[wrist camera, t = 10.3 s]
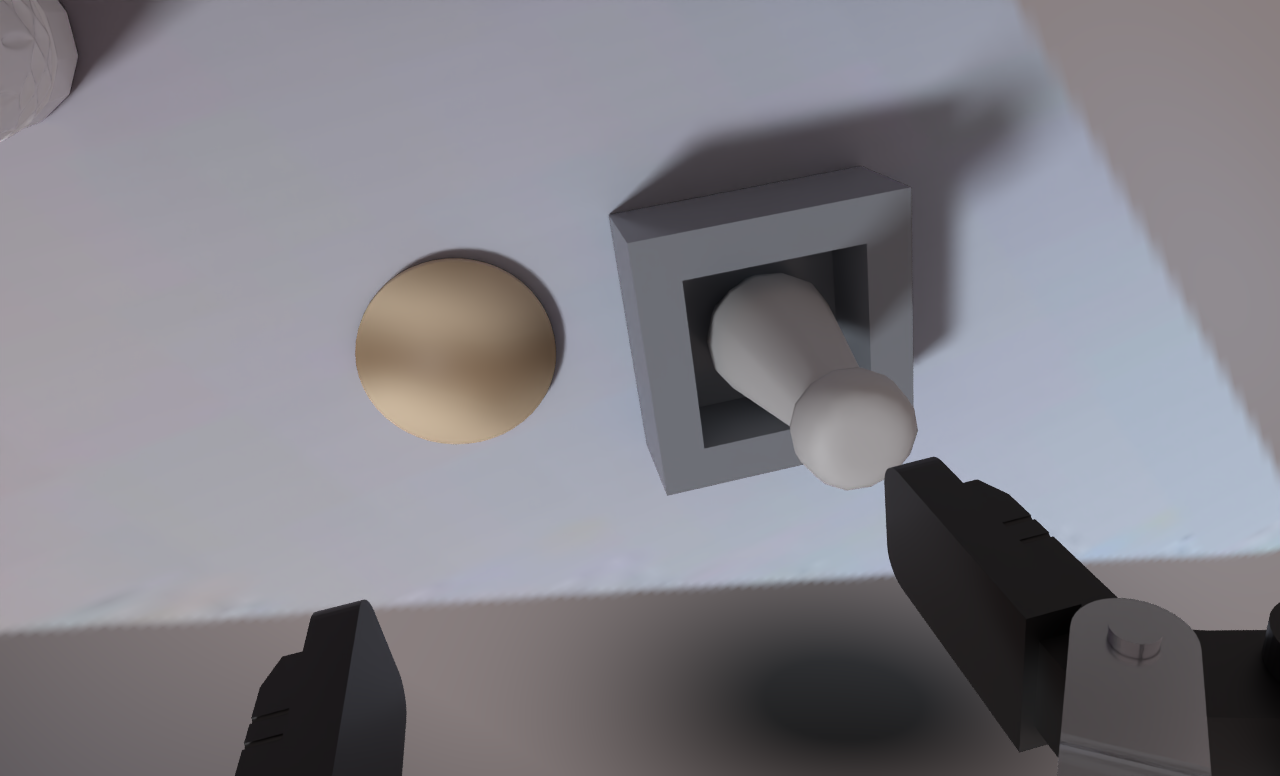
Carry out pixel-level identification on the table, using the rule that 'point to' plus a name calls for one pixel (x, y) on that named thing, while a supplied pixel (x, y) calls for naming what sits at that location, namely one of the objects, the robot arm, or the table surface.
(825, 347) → the salt shaker
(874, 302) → the well
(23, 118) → the white cup
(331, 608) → the robot arm
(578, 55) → the table surface
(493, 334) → the cork coaster
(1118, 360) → the table surface
